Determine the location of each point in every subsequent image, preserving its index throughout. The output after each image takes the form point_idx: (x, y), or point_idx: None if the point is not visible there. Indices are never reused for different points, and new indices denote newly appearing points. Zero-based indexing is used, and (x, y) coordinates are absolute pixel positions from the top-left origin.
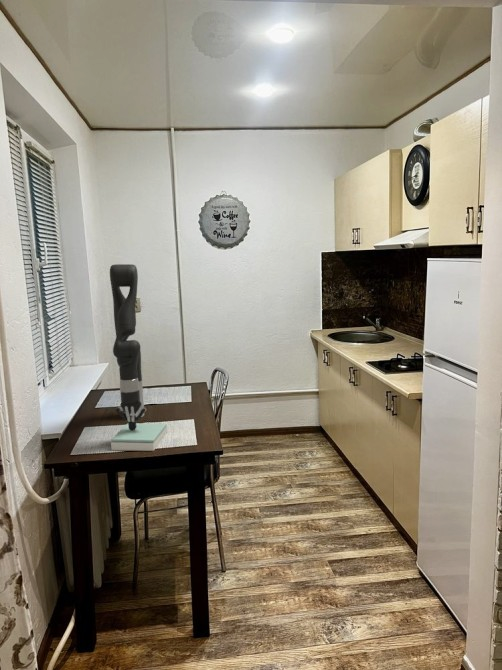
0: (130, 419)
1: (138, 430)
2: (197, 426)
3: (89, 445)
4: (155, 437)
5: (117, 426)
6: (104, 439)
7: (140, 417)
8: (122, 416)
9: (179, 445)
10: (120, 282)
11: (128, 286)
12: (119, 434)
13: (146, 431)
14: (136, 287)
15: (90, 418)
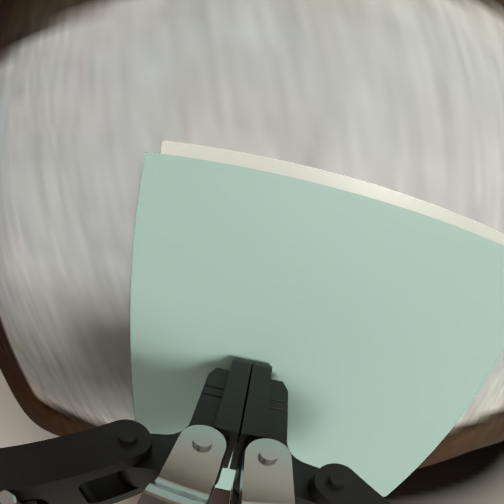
0: (213, 490)
1: (308, 399)
2: None
3: (39, 336)
4: (405, 477)
5: (96, 27)
6: (62, 272)
7: (355, 488)
8: (99, 491)
9: (484, 410)
10: None
11: None
12: (159, 431)
13: (376, 419)
14: None
15: None
